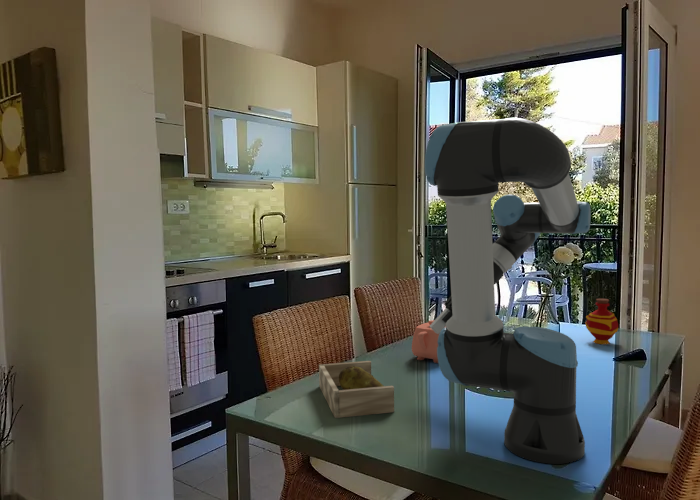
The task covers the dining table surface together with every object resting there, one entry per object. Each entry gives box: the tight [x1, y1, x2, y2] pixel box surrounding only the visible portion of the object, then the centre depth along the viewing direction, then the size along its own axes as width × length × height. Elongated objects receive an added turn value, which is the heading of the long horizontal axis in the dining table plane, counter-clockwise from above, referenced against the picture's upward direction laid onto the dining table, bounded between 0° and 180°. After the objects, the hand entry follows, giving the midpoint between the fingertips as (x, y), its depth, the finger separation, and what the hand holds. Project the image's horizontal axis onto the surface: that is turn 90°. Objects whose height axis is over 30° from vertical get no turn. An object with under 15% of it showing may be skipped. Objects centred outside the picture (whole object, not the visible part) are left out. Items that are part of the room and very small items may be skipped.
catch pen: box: [318, 360, 395, 419], centre depth 137 cm, size 22×14×6 cm, turn 12°
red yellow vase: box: [584, 298, 619, 345], centre depth 186 cm, size 10×10×15 cm
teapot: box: [411, 319, 446, 364], centre depth 171 cm, size 20×12×12 cm, turn 145°
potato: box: [339, 366, 384, 390], centre depth 135 cm, size 8×13×8 cm, turn 35°
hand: (433, 330), depth 140 cm, fingers closed
